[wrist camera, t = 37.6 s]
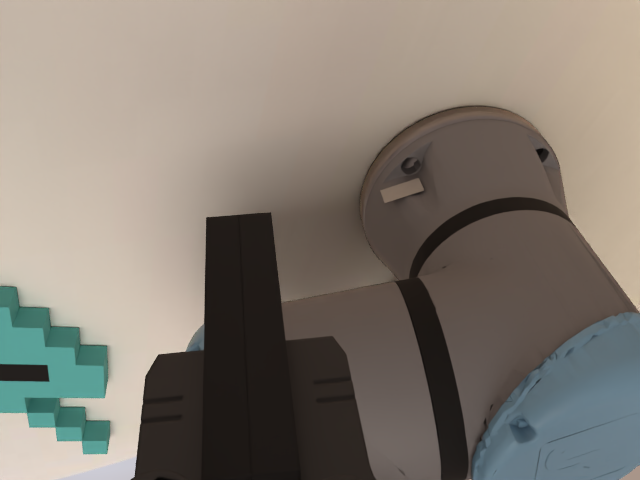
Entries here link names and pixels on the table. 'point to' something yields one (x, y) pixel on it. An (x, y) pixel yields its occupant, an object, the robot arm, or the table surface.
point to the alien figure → (50, 373)
